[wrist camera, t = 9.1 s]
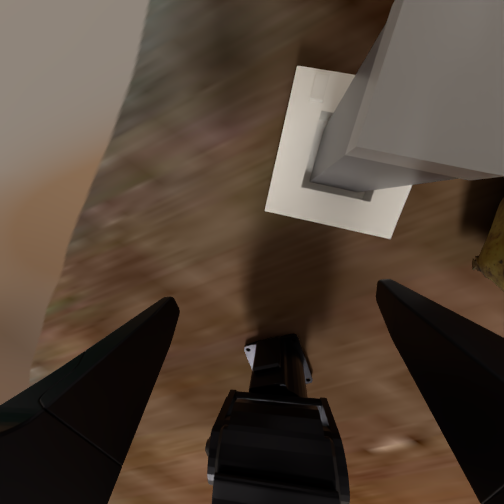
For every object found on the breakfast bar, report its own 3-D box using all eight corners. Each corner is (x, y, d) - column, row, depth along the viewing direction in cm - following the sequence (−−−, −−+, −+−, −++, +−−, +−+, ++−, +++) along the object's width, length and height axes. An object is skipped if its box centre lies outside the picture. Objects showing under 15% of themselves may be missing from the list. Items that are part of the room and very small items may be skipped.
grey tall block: (357, 193, 18) (504, 176, 6) (307, 182, 19) (356, 146, 7) (377, 138, 17) (604, -14, 5) (323, 127, 17) (416, -37, 5)
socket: (378, 235, 19) (393, 240, 17) (266, 210, 20) (264, 211, 18) (428, 104, 16) (456, 86, 14) (295, 82, 17) (297, 60, 15)
